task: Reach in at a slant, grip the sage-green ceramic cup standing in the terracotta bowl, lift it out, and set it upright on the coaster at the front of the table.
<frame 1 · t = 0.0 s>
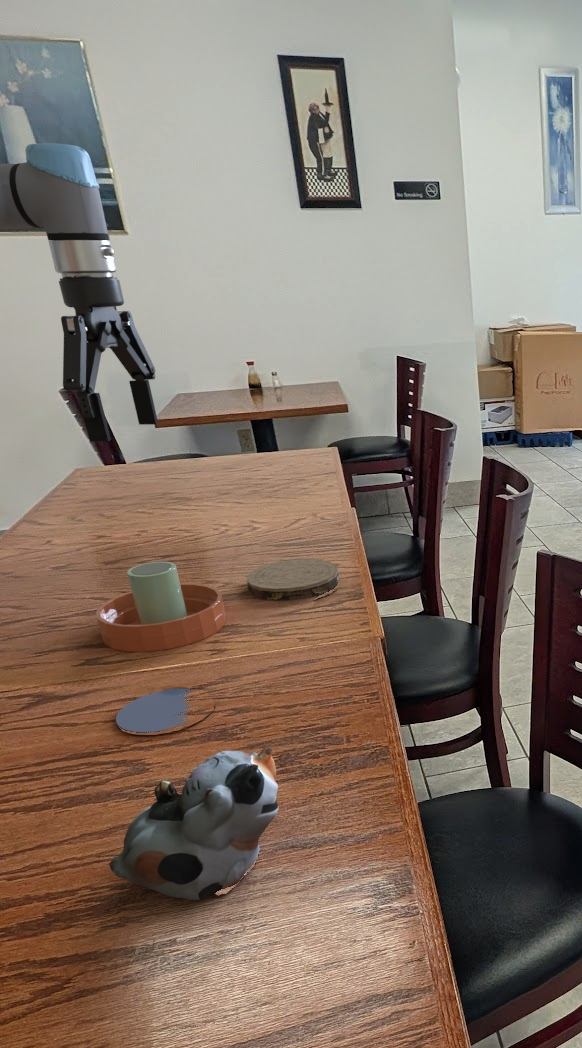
hand: (125, 432, 123), 31 cm above the table, tool pointing down, fingers open, 13 cm apart
cup: (166, 627, 132), point 1 cm above the table, touching bowl
lucky cat figurine: (211, 861, 81), on the table
coaster: (167, 712, 108), on the table
wood slice: (295, 589, 149), on the table
bowl: (167, 632, 132), on the table
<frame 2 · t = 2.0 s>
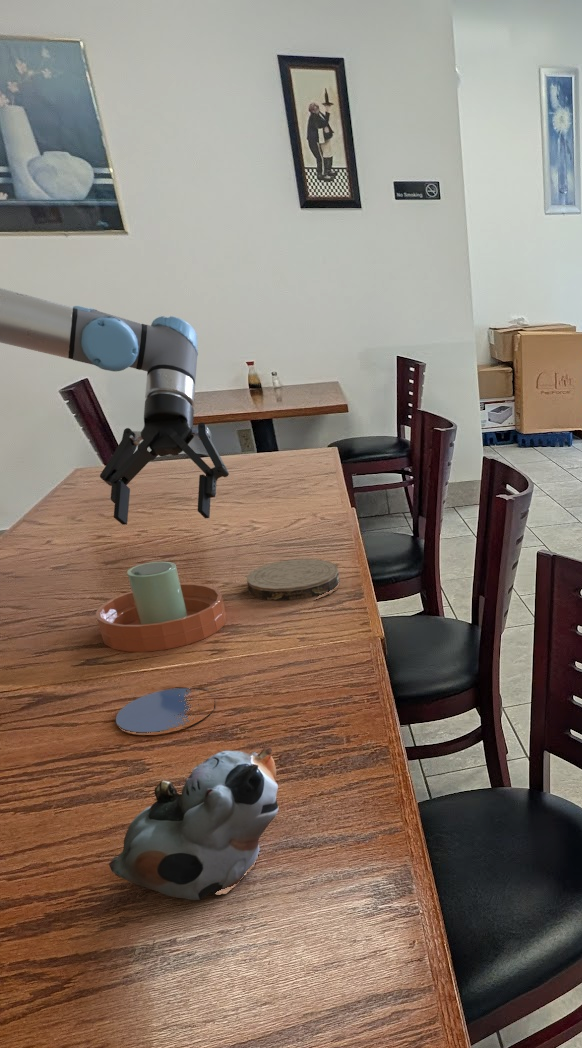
hand: (161, 518, 133), 16 cm above the table, tool tilted 40°, fingers open, 13 cm apart
nothing on the table moved.
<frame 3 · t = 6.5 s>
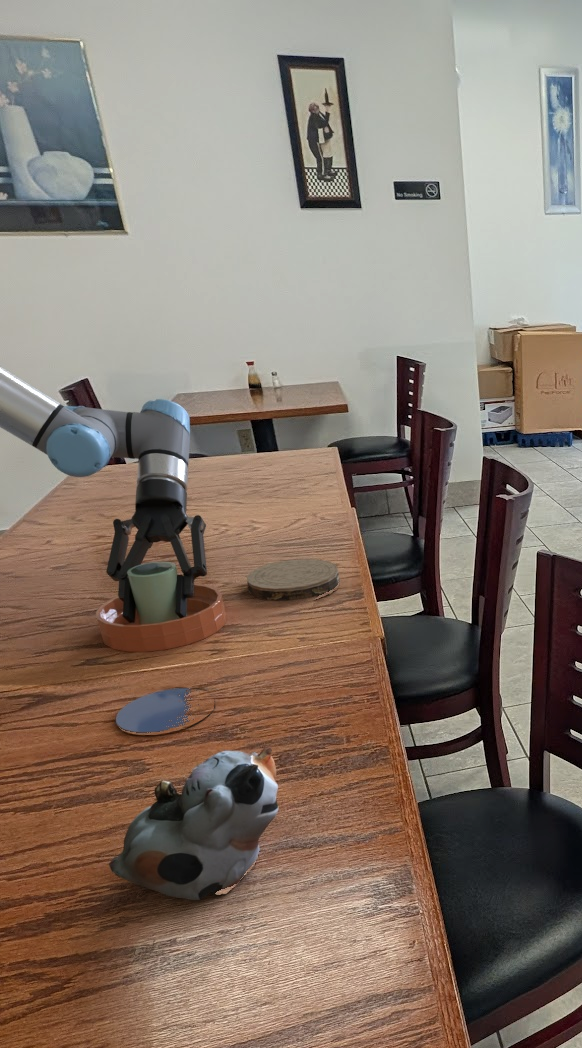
hand: (154, 617, 127), 4 cm above the table, tool tilted 45°, fingers closed on cup, 7 cm apart
cup: (166, 627, 132), point 1 cm above the table, touching bowl, gripper
everything else where it was.
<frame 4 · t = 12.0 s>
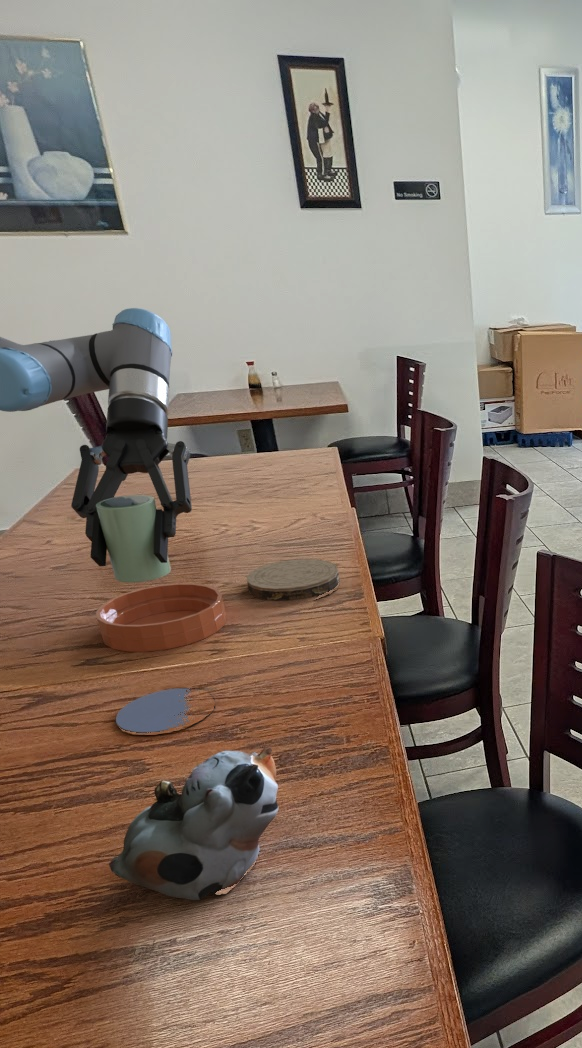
hand: (129, 559, 107), 19 cm above the table, tool tilted 45°, fingers closed on cup, 7 cm apart
cup: (143, 573, 112), point 15 cm above the table, touching gripper
everything else where it was.
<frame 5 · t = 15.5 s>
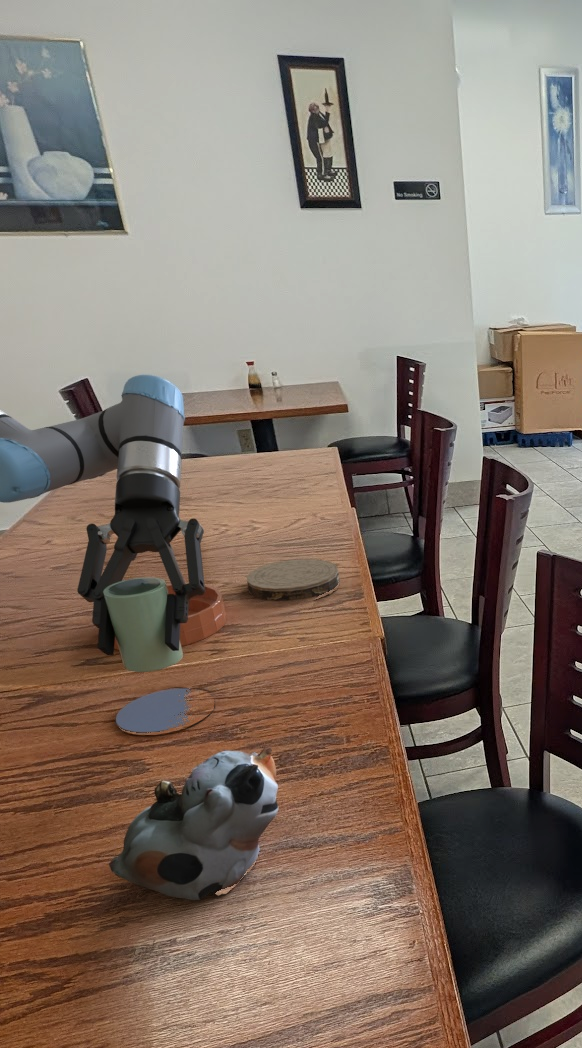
hand: (139, 648, 100), 11 cm above the table, tool tilted 45°, fingers closed on cup, 7 cm apart
cup: (153, 660, 105), point 8 cm above the table, touching gripper
everything else where it was.
when the fingers open (4 cm above the table, at t = 17.8 s): cup stays where it is, resting on coaster.
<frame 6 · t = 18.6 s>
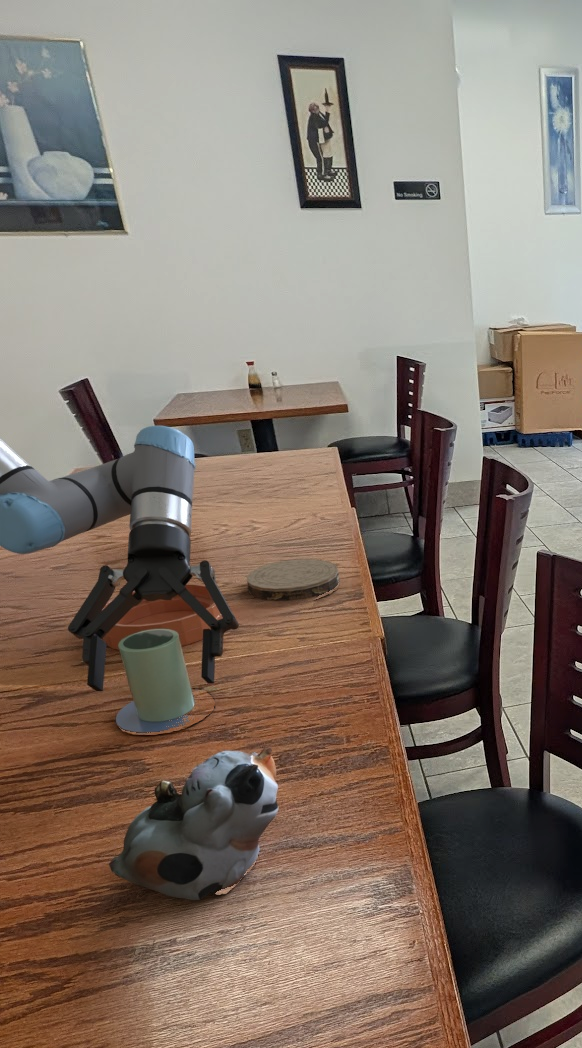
hand: (151, 684, 104), 5 cm above the table, tool tilted 45°, fingers open, 13 cm apart
cup: (166, 708, 108), point 1 cm above the table, touching coaster
everything else where it was.
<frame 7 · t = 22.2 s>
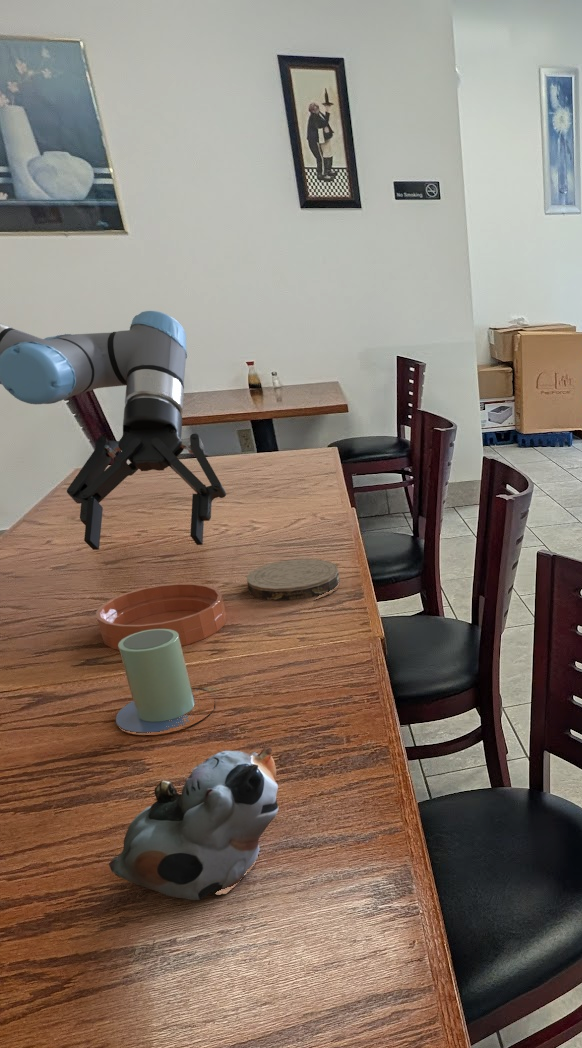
hand: (144, 543, 111), 19 cm above the table, tool tilted 45°, fingers open, 13 cm apart
nothing on the table moved.
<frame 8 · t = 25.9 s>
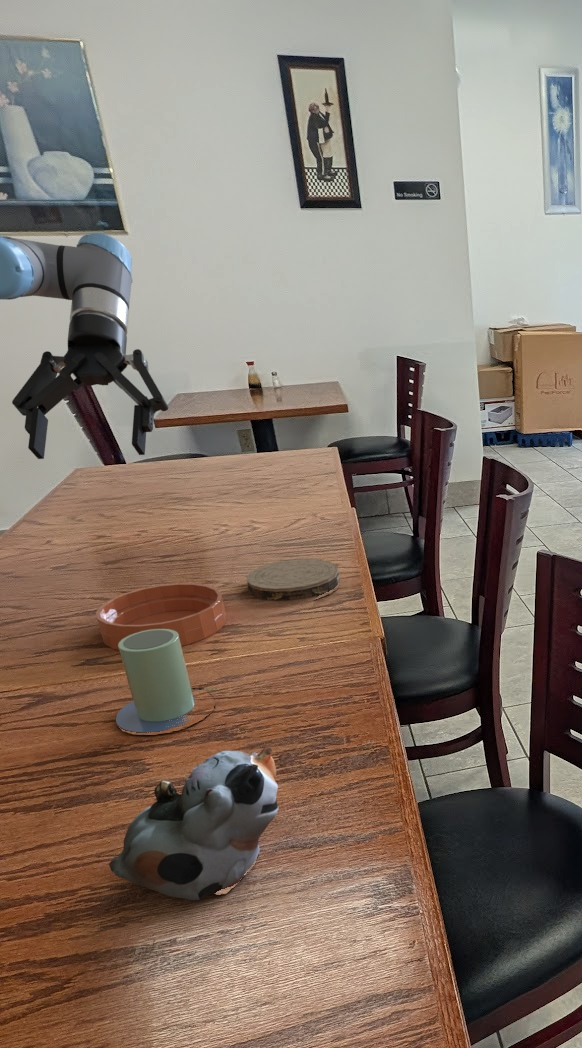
hand: (87, 451, 115), 30 cm above the table, tool tilted 45°, fingers open, 13 cm apart
nothing on the table moved.
at the end: cup inside the target area on the coaster (0.0 cm from its centre), point 0.6 cm above the coaster's base; cup tilted 0°; cup touching coaster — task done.
